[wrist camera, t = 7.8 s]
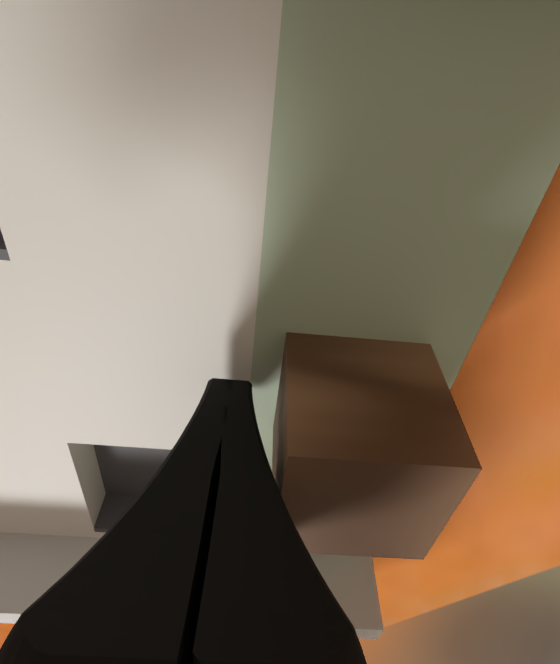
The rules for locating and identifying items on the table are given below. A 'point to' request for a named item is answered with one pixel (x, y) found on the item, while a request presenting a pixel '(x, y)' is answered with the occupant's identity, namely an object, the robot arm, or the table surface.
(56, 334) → the board
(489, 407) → the table surface
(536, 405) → the table surface
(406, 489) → the walnut block
